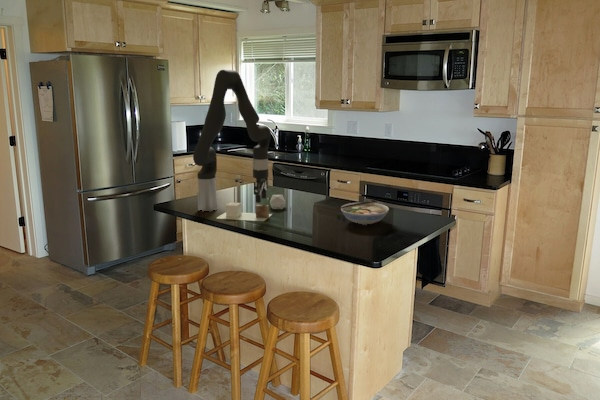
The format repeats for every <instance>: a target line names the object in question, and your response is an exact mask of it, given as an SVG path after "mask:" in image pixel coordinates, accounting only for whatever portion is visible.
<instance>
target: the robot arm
mask: <svg viewBox="0 0 600 400" xmlns="http://www.w3.org/2000/svg"><path fill="white" fill-rule="evenodd" d="M213 84H214V85H213V91H212V94H211V100H210V102H209V107H208V110H207V111H206V112H207V113H206V116H205V120H204V124H203V127H202V131H201V133H200V136H199V139H198V142H197V144H196V146H195V149H194V150H193V154H192V155H193V156H192V159H193V162H194V164H195V165H196V166H199V167H201V168H200V169H199V171H198V172H197V188H198V189H197V190H198V192H196V197H197V198H196V199H197V210H198V211H200V210H202V211H201V212H204V211H209V212H214V211H213V210H215V211H217V210H218V198H217V183H216V182H217V181H216V180H217V179H216V175H217V170H218V167H217V161H218V159H217V152H216V150H215V149H214V148H213V147H212V144H213V142H214V140H215V139H216V137H217V136H218V135H219V134H220V132H221V131H222V129H223V127H224V124H225V120H226V116H227V113H226V107H225V97H226V94H227V91H228V90H231V91H232V92H233V93H234V95H235V96H236V98H237V99H236V100H237V107H238V112H239V114H240V116H241V118H242V119H243V121H244V123H245V127H246V129H247V134H248V137H249V138H250V140H252V141H253V142H256V143H257V145H255V146H254V147H253V148H252V178H254V179H256V180H255V182H253V195H255V203H256V204H260V203H261V202H262V201H261V199H267V191H268V189H269V180H268V179H269V173H270V172H269V155H268V154H269V151H268V150H269V146H270V142H271V137H272V133H271V130H270V128H269V127H268V126H267V125H260V126H258V124H257V123H259V121H260V116H259V114H258V113H257V111H256V109H255V107H254V106H253V104H252V102H251V100H250V98H249V96H248V93H247V90H246V88H245V85H244V82H243V79H242V78H241V75H240V74H239V72H238V71H236V70H234V69H220V70H219V71H218V72H217V74H216V75H215V79H214V83H213Z"/></svg>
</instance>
